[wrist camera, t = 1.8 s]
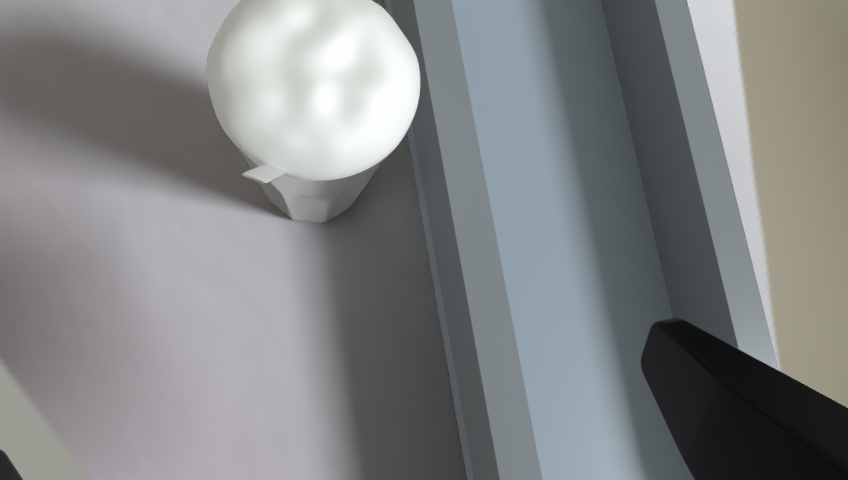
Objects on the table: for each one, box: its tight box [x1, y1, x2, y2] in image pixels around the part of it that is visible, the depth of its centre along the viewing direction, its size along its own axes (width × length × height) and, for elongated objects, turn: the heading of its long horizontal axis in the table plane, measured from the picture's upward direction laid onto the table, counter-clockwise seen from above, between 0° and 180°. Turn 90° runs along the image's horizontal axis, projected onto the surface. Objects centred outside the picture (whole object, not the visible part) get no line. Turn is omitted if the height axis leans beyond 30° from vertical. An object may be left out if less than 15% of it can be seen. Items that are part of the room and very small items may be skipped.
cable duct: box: [384, 0, 779, 480], centre depth 21 cm, size 22×9×4 cm, turn 10°
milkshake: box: [206, 0, 420, 223], centre depth 16 cm, size 4×5×10 cm
